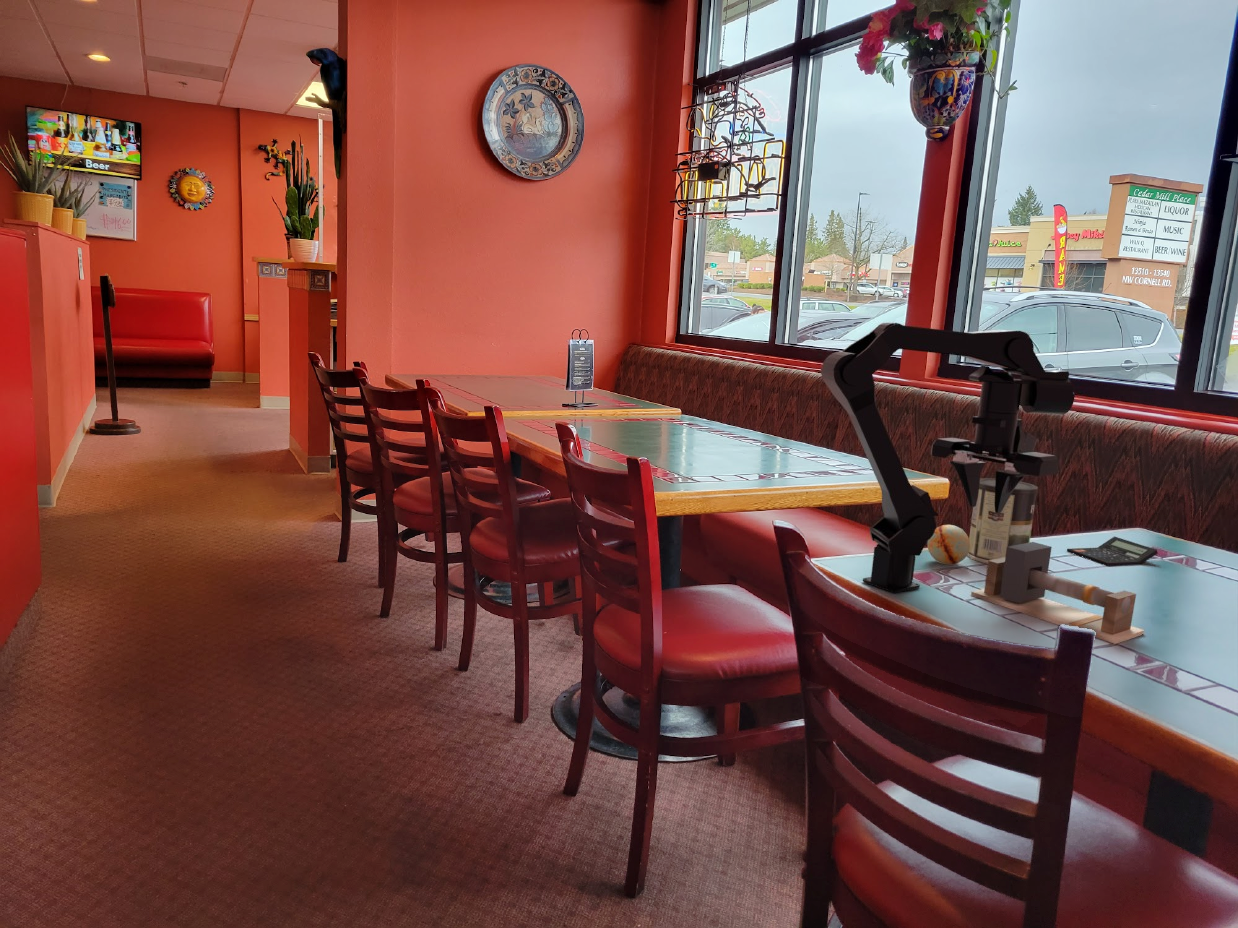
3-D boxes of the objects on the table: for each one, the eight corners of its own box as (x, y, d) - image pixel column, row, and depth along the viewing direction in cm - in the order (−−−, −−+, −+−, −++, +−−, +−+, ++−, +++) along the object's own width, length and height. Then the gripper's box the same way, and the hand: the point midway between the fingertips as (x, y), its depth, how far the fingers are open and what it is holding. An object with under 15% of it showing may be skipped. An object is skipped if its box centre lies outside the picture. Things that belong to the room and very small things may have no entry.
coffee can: (1019, 554, 161) (1029, 480, 158) (1033, 570, 151) (1045, 491, 148) (961, 548, 163) (970, 475, 160) (971, 563, 153) (982, 486, 150)
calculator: (1066, 553, 165) (1068, 537, 165) (1113, 551, 169) (1116, 536, 168) (1107, 567, 156) (1109, 551, 156) (1155, 565, 160) (1158, 549, 159)
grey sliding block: (1044, 596, 132) (1051, 546, 131) (1018, 603, 129) (1025, 551, 127) (1025, 591, 135) (1033, 541, 134) (1000, 597, 131) (1007, 546, 130)
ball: (973, 564, 152) (978, 526, 151) (959, 572, 147) (964, 532, 146) (933, 555, 157) (938, 518, 155) (919, 563, 151) (923, 524, 150)
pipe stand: (1143, 634, 121) (1150, 594, 120) (1115, 643, 117) (1121, 602, 116) (1000, 588, 139) (1005, 553, 138) (970, 595, 135) (975, 559, 134)
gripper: (1085, 418, 130) (1070, 518, 133) (975, 403, 145) (964, 493, 148) (1045, 420, 124) (1030, 525, 127) (934, 404, 139) (923, 498, 142)
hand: (985, 509), depth 136 cm, fingers open, 4 cm apart
